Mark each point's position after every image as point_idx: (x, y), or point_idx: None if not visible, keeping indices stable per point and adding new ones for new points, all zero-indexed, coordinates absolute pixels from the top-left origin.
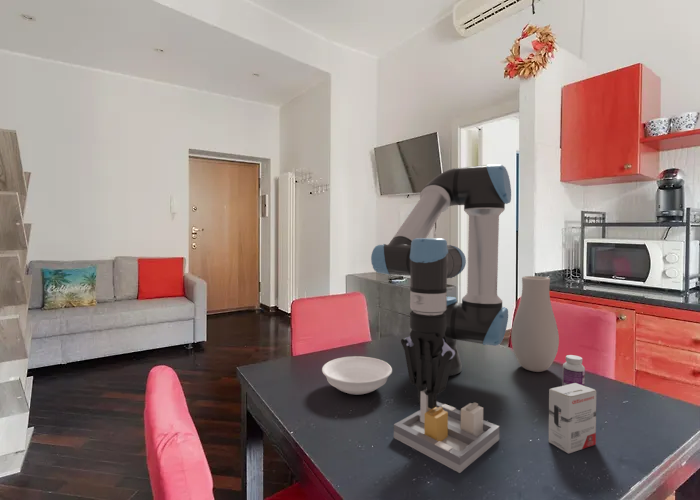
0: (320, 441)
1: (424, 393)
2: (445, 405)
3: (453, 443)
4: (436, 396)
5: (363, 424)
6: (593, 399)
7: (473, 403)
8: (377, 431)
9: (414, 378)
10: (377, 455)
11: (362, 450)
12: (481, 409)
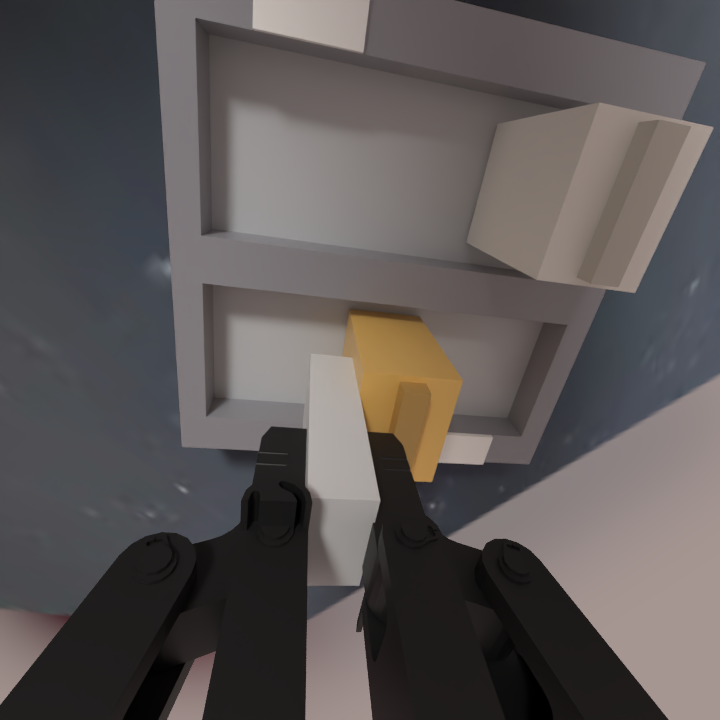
0: (32, 571)
1: (339, 581)
2: None
3: (458, 342)
4: (417, 496)
5: (10, 409)
6: None
7: (648, 157)
8: (109, 412)
9: (174, 695)
10: (238, 512)
11: (179, 523)
12: (691, 165)
